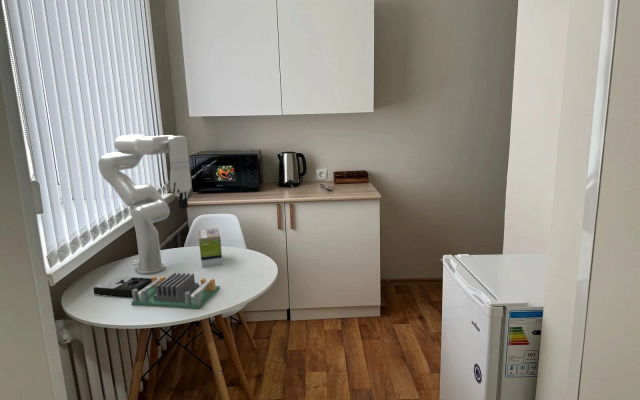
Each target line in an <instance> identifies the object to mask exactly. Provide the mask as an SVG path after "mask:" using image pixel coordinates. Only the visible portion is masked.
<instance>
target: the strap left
mask: <svg viewBox="0 0 640 400" xmlns="http://www.w3.org/2000/svg"><path fill="white" fill-rule="evenodd" d="M160 282H161V281H160V278H157V279H156V280H155V281H153V282H152V283H150V284H149V285H148V286H146V287H145V288H143V289H142V290H144V289H147V292H148V291H149V290H150V289H152V288H153V287H155V286H156V285H157V284H159V283H160ZM142 290H140V291H139V292H137V293H136V295H138V296H142V294H141V291H142Z"/></svg>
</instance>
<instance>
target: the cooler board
mask: <svg viewBox="0 0 640 400" xmlns="http://www.w3.org/2000/svg"><path fill="white" fill-rule="evenodd" d="M150 278H151V279H152V282H153V281H155V280H156V279H158V277H157V275H152V276H151V277H150ZM159 279H160V281H161V282H160V283H159V284H157V285H156V286H155V287H153V288H152V289H150V290H149V291H148V292H147V289H144V290H142V291H141V294H142V296H138V295H136V293H137V292H138V289H134V290H132V297H133V298H132V301H131V305H132V306H143V307H144V306H146V307H161V308H176V309H177V308H178V309H179V308H180V309H196V310H197V309H198V310H200V309H201V308H202V307H203V306H205V305H204V304H206V303H207V302H208V301H209V300H210V299H211V298H212V297H213V296H214V295H215V294H216V293H217V292H218V291H219V290H220V289H221V288H220V285H216V278H211V279H209V281H210V285H209V286H208V287H206V288H205V289H204V290H203V291H202V292H201V293H200V292H196V293H195V299H192V298H189V296H190V295H191V294H192V293H193V292H194V291H196V290H197V289H198V288H199V287H200V286H201V285H202V284H203V283H204V282H205V281H207V280H206V279H207V278H205V277H202V278H201V279H200V283H199V282H196V280H195V273H186V272H183V273H181V272H178V273H177V272H173V273H172V274H171V275H169V276H168V277H166V276H164V275H163V276H161V277H160V278H159Z"/></svg>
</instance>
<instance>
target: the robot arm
mask: <svg viewBox="0 0 640 400" xmlns="http://www.w3.org/2000/svg"><path fill="white" fill-rule="evenodd" d="M113 146H114V149H115V150H116V152H114V151H113V152H110V153H109V152H108V153H106V154H103V155H101V156H100V157H99V159H98V162H97V163H98V164H97V165H98V169H99V172H100V175H101V177H103V179H104V180H105V181H106V182H107V183H108V184H109V185H110V186H111V187H112V188H113V189H114V190H115V192H116V193H117V194H118V196H119V198H120V199H121V200H122V202H123V203H124V204H125V205H126V206H127V207H130V208H132V210H131V213H130V214H131V215H130V216H131V219H132V222H133V226H134V229H135V235H136V244H137V252H138V259H134V260H133V262H132V265H133V266H137V268H136V272H137V273H138V274H141V275H151V274H156V273H159V272H162V271H163V270H165V269H166V264H165V263H163V262H162V255H161V247H160V237H159V232H158V229H157V228H156V226H155V225H154V223H157V222H160V221H164V220H166V219H168V217H169V216H170V213H171V212H170V207H169V205H168V203H167V202H166V200H165V198H164V197H162V195H161V194H160V193H159V191H158V189H156V188H155V187H154V186H153V185H151V184H150V183H149V184H148V183H144V184H135V182H133V180H132V179H131V178H130V176H129V175H127V174H125V173H123V172H122V171H124V170H129V169H134V168H136V167H137V166H138V165H139V163H140V162H141V160H142V159H143V157H144V156H152V155H154V156H155V155H161V154H163V155H164V154H169V163H170V164H169V166H170V172H169V183H170V185H169V186H170V193H172V194H174V197H176V198H177V200H178V205H179V206H178V207H179V209H188V208H189V203H188V198H189V197H188V194H189V193H190V190H191V189H192V180H191V178H192V177H191V172H190V163H189V161H190V160H189V151H188V139H187V137H186V136H185V135H173V134H166V135H153V136H146V135H144V134H125V135H121V136H118V137H116V139H115V141H114V143H113Z"/></svg>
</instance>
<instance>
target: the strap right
mask: <svg viewBox="0 0 640 400" xmlns="http://www.w3.org/2000/svg"><path fill="white" fill-rule="evenodd" d="M200 285H201V284H200ZM209 285H210V280H206V281H205V282H204V283H203V284H202V285H201V286H200V287H199V288H198V289H197V290H196V291H194V292H193V293H192V294H191V295H190V296H189V298H192V299H195V293H196V292H200V293H201V292H202V291H203V290H204V289H205V288H206V287H208V286H209Z"/></svg>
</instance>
